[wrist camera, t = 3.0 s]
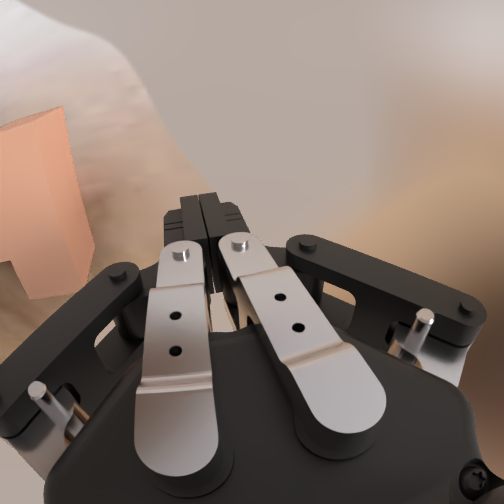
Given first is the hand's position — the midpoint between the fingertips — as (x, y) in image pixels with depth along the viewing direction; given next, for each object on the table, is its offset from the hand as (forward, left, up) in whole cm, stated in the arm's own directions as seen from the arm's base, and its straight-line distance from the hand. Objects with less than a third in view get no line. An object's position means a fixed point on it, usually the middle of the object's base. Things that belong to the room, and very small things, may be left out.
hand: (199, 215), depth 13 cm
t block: (-12, 0, -8) cm, 14 cm away
